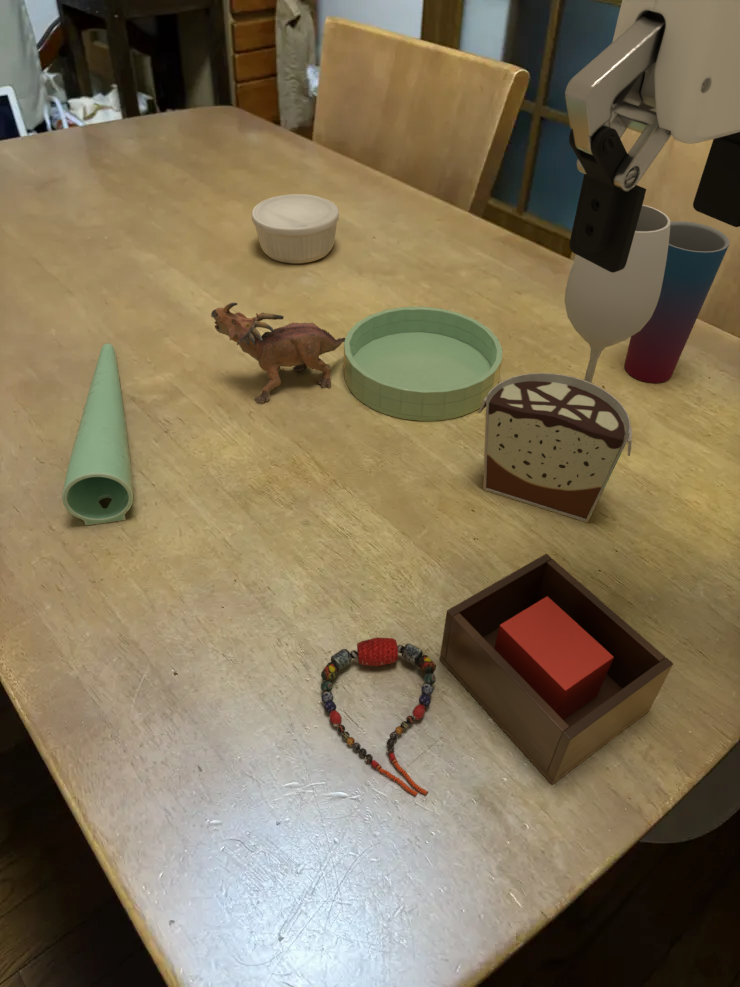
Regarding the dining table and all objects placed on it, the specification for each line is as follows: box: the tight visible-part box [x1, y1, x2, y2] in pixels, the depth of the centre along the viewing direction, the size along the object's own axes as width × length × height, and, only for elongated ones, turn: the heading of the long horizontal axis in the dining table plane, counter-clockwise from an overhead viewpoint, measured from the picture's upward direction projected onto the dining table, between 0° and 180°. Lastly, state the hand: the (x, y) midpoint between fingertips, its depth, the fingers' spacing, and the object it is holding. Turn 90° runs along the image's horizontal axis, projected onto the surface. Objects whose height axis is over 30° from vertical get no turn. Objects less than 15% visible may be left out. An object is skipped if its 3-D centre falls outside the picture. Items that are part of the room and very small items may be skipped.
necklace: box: [320, 637, 437, 797], centre depth 49 cm, size 8×11×2 cm
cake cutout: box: [478, 372, 633, 524], centre depth 64 cm, size 12×6×10 cm, turn 65°
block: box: [494, 596, 614, 720], centre depth 50 cm, size 6×4×4 cm
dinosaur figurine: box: [210, 302, 346, 404], centre depth 75 cm, size 14×6×9 cm, turn 110°
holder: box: [439, 553, 674, 785], centre depth 50 cm, size 11×9×6 cm
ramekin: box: [251, 193, 340, 264], centre depth 99 cm, size 11×11×5 cm
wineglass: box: [564, 204, 671, 384], centre depth 66 cm, size 8×8×21 cm
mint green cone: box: [61, 342, 134, 526], centre depth 70 cm, size 5×6×27 cm
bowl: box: [343, 306, 504, 422], centre depth 78 cm, size 16×16×4 cm
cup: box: [624, 220, 730, 384], centre depth 76 cm, size 7×7×15 cm
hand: (660, 238), depth 39 cm, fingers open, 9 cm apart
